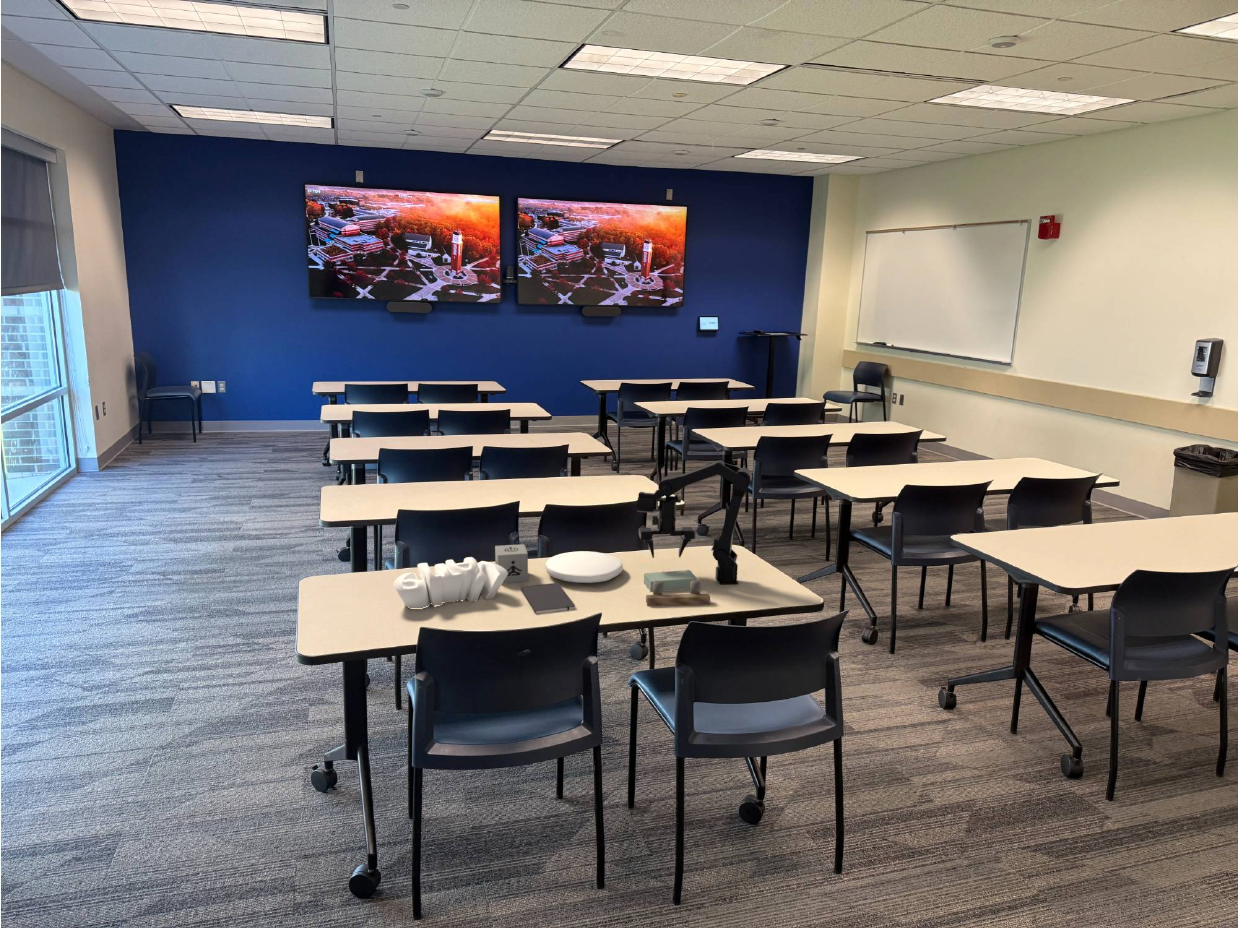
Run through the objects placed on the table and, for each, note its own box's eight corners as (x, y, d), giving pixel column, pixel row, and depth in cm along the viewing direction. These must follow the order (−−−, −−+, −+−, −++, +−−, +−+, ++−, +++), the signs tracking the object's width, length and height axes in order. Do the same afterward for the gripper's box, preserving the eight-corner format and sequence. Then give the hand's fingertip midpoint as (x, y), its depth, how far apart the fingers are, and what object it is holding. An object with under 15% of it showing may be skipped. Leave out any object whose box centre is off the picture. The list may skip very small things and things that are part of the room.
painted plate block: (688, 581, 276) (689, 569, 275) (696, 589, 268) (697, 578, 267) (643, 584, 272) (644, 573, 271) (650, 593, 264) (650, 581, 264)
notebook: (520, 591, 265) (535, 615, 245) (520, 586, 265) (535, 610, 245) (557, 586, 269) (575, 610, 250) (557, 582, 269) (575, 605, 249)
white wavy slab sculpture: (498, 582, 271) (497, 552, 268) (510, 600, 256) (510, 568, 253) (390, 596, 257) (388, 565, 255) (397, 616, 243) (395, 582, 240)
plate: (549, 547, 293) (623, 549, 293) (549, 565, 294) (622, 567, 293) (541, 565, 265) (622, 567, 265) (540, 585, 266) (621, 587, 265)
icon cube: (495, 573, 279) (495, 545, 277) (524, 571, 282) (524, 544, 280) (498, 583, 270) (497, 555, 268) (528, 581, 272) (527, 553, 270)
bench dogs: (706, 597, 260) (706, 579, 259) (710, 604, 255) (710, 586, 254) (644, 598, 258) (645, 581, 257) (647, 605, 253) (647, 587, 251)
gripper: (689, 506, 284) (688, 549, 287) (637, 507, 282) (636, 550, 285) (696, 515, 273) (694, 559, 276) (641, 516, 271) (640, 560, 274)
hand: (666, 557), depth 278 cm, fingers open, 9 cm apart
